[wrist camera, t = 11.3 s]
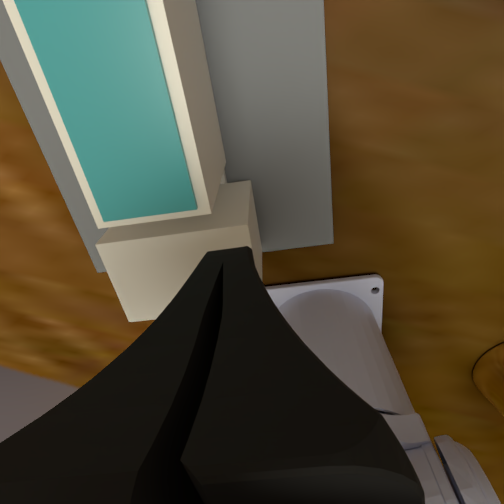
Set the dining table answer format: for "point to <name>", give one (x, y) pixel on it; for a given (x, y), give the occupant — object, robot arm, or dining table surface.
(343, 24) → the dining table surface
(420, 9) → the dining table surface
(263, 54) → the board
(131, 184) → the block
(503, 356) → the beer glass
